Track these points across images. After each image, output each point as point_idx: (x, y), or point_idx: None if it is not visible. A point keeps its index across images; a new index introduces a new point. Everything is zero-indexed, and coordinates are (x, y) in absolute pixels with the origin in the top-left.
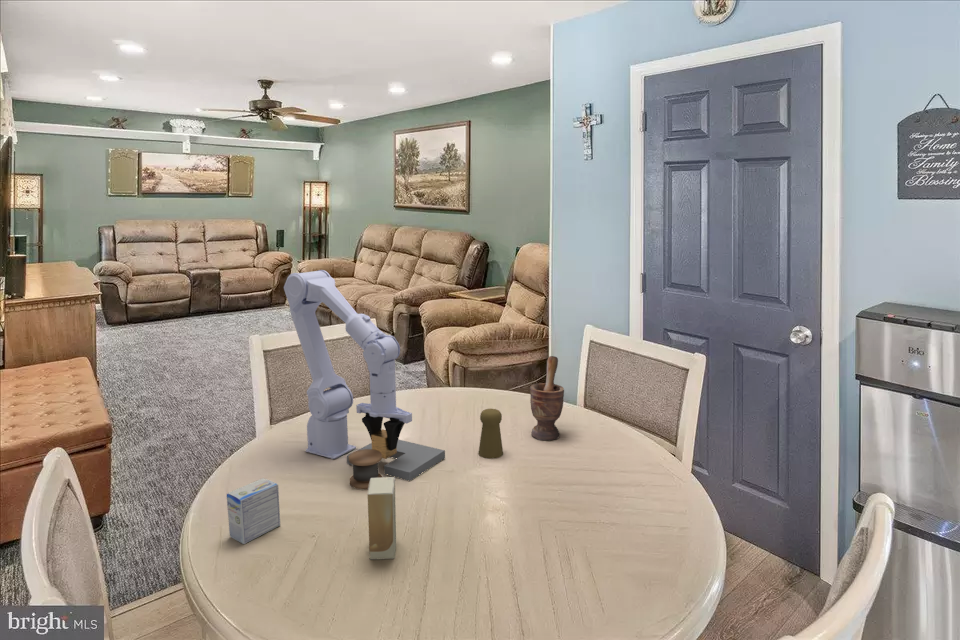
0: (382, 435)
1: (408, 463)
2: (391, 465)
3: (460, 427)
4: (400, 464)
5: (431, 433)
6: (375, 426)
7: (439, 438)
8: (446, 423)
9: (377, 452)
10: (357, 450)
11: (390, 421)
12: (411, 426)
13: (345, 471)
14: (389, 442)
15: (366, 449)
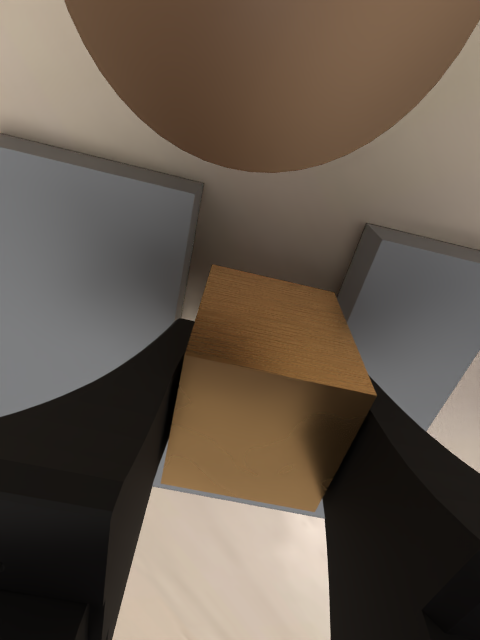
0: (249, 405)
1: (63, 273)
2: (146, 211)
3: (137, 620)
4: (101, 245)
5: (208, 579)
6: (369, 511)
7: (158, 556)
8: (198, 634)
9: (171, 101)
10: (467, 361)
11: (42, 581)
12: (307, 608)
13: (477, 142)
14: (163, 345)
15: (338, 148)
